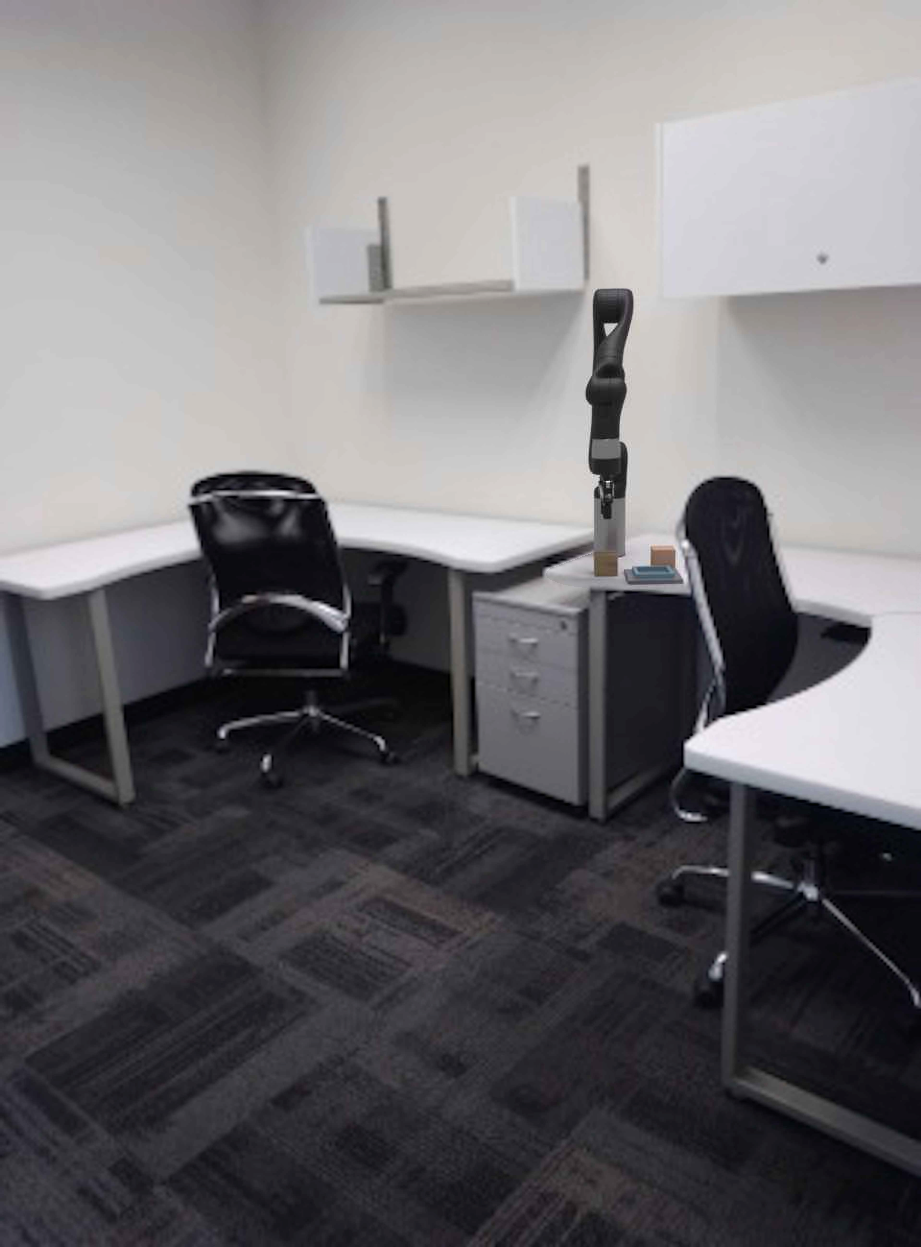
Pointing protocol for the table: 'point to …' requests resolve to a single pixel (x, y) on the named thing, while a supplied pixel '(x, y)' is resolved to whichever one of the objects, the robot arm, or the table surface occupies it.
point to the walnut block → (605, 563)
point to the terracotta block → (663, 556)
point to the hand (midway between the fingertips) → (606, 516)
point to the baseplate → (652, 575)
